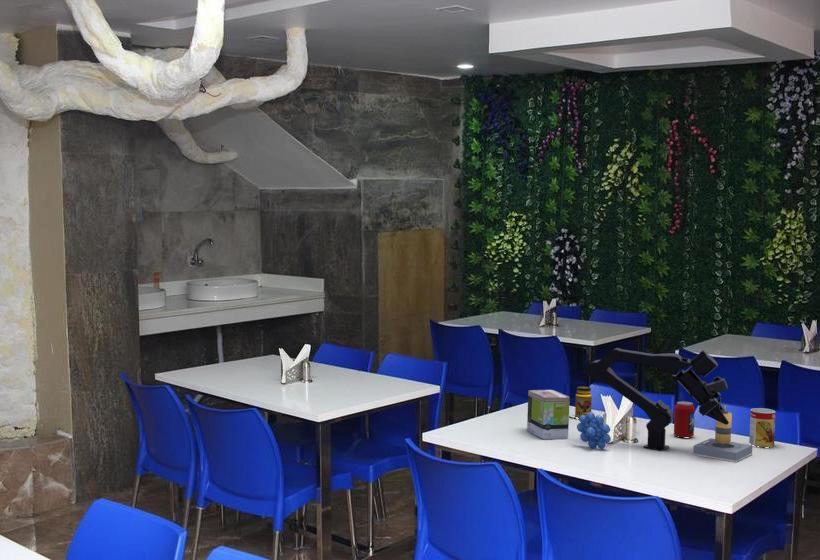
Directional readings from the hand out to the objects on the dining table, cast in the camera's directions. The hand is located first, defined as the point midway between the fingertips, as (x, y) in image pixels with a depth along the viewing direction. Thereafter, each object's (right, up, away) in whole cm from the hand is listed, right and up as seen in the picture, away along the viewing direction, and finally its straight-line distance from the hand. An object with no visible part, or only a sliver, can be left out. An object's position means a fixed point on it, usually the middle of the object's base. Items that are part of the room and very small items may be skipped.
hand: (728, 422), depth 305 cm
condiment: (-37, -7, +55) cm, 67 cm away
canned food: (+16, -10, +15) cm, 24 cm away
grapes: (-43, -10, +6) cm, 44 cm away
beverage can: (-7, -9, +26) cm, 28 cm away
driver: (-1, -7, +1) cm, 7 cm away
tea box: (-54, -8, +26) cm, 61 cm away
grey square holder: (-1, -11, +1) cm, 11 cm away
